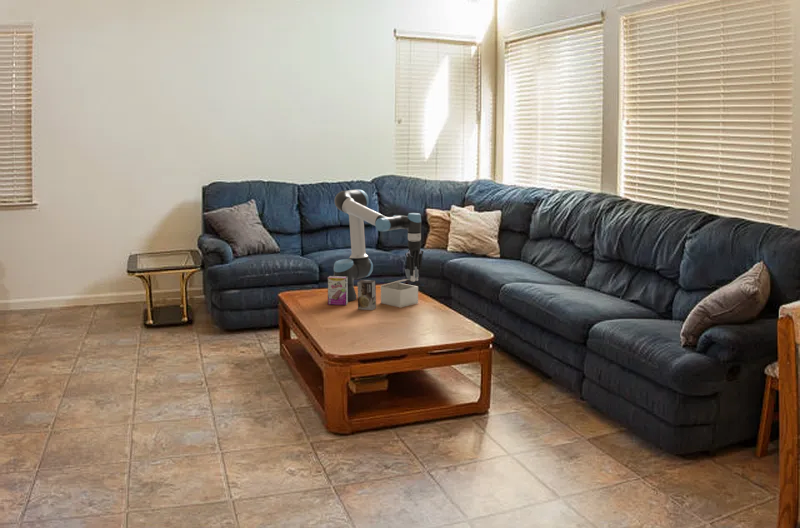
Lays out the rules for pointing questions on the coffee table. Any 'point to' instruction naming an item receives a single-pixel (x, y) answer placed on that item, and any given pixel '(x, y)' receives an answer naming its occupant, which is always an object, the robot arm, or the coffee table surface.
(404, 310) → the coffee table surface
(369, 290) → the coffee box
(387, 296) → the carton
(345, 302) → the candy bar box
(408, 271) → the flap
